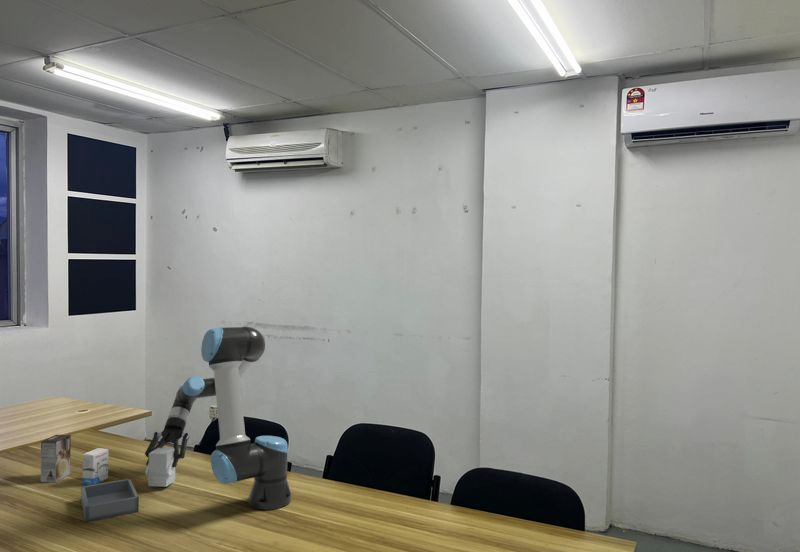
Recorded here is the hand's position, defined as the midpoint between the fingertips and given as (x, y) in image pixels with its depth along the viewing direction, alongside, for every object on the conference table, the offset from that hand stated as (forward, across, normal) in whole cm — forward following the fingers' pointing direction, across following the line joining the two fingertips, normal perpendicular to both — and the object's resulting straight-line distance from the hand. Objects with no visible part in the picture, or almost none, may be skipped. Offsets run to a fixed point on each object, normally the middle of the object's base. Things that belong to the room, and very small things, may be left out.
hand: (157, 474), depth 210 cm
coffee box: (-1, +45, -10) cm, 46 cm away
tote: (+15, +10, +7) cm, 19 cm away
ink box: (0, +28, -8) cm, 29 cm away
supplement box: (+1, 0, -6) cm, 6 cm away
